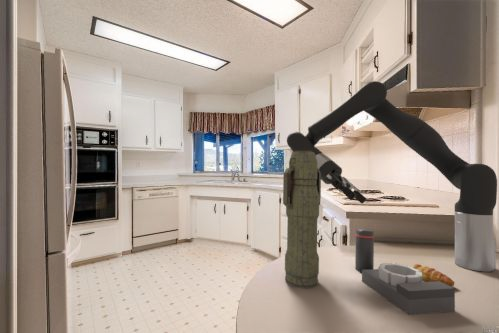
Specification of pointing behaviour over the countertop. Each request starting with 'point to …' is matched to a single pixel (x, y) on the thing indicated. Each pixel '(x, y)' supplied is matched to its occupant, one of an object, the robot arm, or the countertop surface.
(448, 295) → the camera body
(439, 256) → the countertop surface
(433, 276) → the pastry
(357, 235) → the lens
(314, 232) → the thermos
